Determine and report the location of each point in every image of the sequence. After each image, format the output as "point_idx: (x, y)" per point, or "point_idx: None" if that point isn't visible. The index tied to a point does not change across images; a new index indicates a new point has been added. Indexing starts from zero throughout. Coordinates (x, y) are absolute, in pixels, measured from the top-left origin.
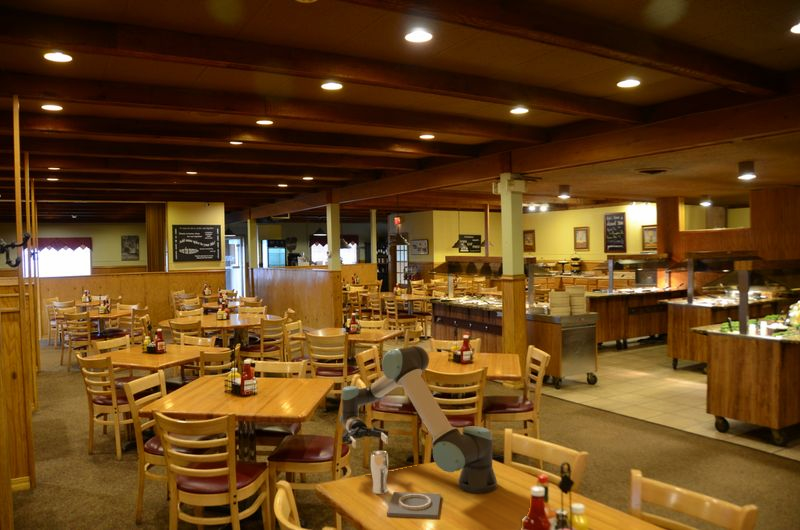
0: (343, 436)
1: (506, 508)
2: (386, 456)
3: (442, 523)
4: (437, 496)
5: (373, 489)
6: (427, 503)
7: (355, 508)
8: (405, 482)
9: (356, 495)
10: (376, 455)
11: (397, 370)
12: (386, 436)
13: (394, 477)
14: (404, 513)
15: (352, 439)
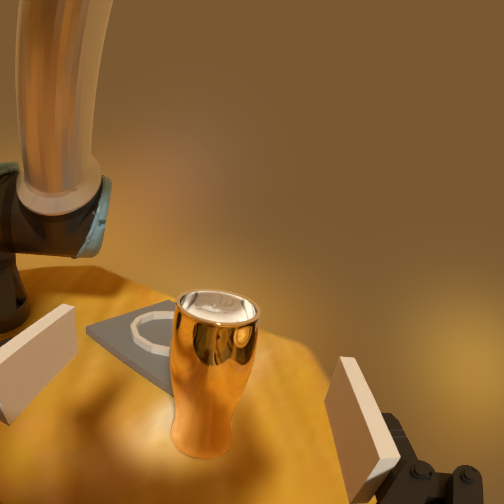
0: (467, 470)
1: (57, 274)
2: (197, 295)
3: (173, 298)
4: (103, 325)
5: (231, 429)
6: (158, 312)
7: (315, 391)
8: (69, 432)
9: (295, 448)
10: (211, 346)
11: None
12: (54, 312)
13: (62, 487)
14: None
15: (368, 388)
